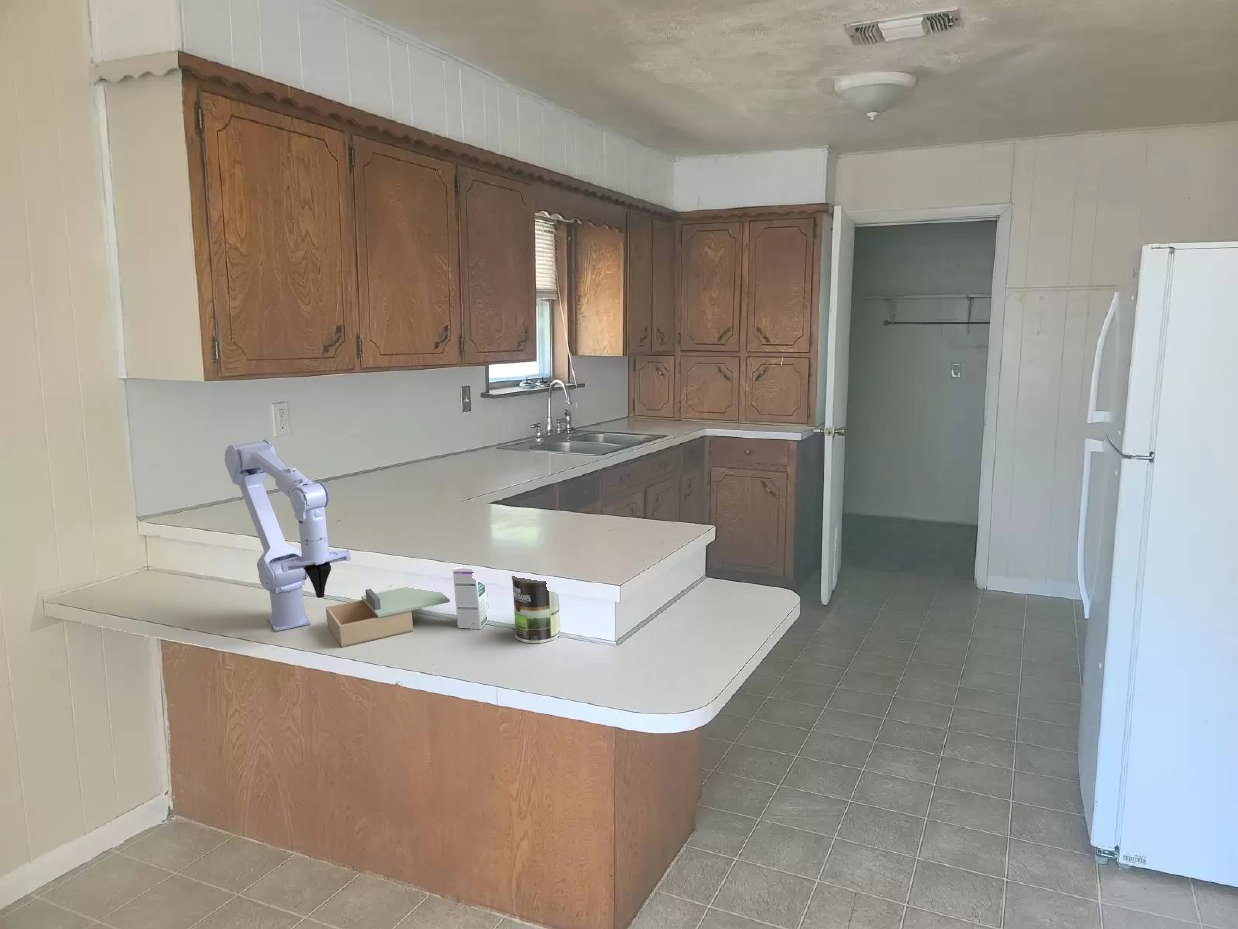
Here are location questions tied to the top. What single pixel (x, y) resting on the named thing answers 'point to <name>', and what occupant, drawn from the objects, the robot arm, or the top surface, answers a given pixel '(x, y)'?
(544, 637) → the coffee can
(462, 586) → the syrup box
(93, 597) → the top surface
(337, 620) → the mailer box
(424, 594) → the lid
